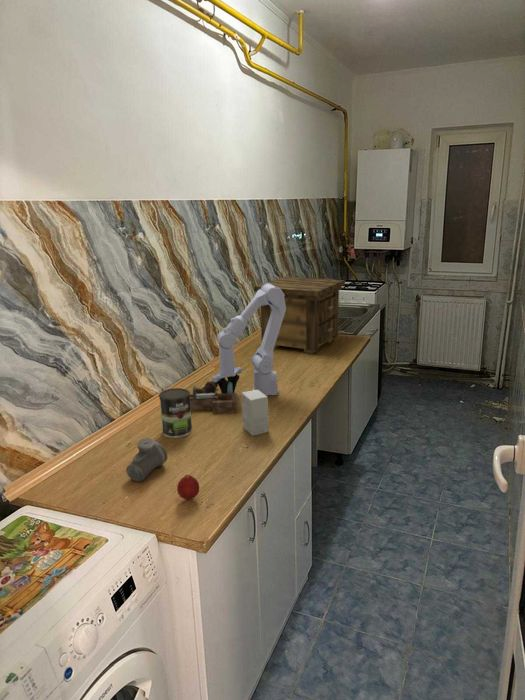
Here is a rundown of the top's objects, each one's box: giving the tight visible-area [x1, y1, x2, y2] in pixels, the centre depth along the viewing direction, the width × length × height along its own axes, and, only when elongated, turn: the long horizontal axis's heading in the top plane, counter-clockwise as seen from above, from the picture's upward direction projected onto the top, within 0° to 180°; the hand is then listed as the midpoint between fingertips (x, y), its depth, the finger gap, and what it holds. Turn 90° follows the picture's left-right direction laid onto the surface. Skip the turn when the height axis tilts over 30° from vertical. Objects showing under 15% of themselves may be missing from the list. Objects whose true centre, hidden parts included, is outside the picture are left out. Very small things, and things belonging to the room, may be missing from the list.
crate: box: [253, 275, 346, 354], centre depth 269 cm, size 35×35×33 cm
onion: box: [176, 473, 200, 502], centre depth 136 cm, size 6×6×8 cm
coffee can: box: [158, 387, 193, 439], centre depth 175 cm, size 10×10×14 cm
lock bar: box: [192, 385, 216, 400], centre depth 193 cm, size 8×3×4 cm, turn 92°
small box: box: [241, 389, 270, 437], centre depth 175 cm, size 8×6×13 cm
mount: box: [190, 392, 238, 414], centre depth 195 cm, size 18×9×5 cm, turn 92°
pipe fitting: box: [125, 437, 168, 483], centre depth 150 cm, size 12×8×10 cm
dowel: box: [227, 382, 233, 393], centre depth 204 cm, size 4×4×6 cm
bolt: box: [196, 381, 219, 394], centre depth 208 cm, size 6×5×15 cm
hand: (228, 394), depth 205 cm, fingers closed on dowel, 4 cm apart
